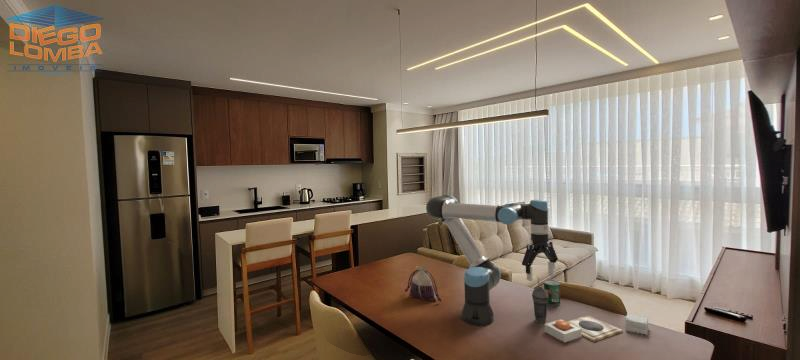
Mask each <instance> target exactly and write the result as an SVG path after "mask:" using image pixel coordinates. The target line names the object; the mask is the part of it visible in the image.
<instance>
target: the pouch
mask: <svg viewBox="0 0 800 360" xmlns="http://www.w3.org/2000/svg"><path fill="white" fill-rule="evenodd" d="M415 267H416V269H415V270H414V271H413V272H412V273H410V276H409V278H408V281H407V282H408V283H407V287H406V288H405V289H404V293H406V292H408V291H409V294H408V295H409V297H411V296H412V297H413V298H417V299H422V300H425V301H426V300H427V301H431V302H437V301H439V303H440V302H442V298H441V297H440V296H439V292H438V288H437V287H438V286H437V282H436V281H435V279H434V276H433V275H432V274H431V273H430V272H429V271H428V270H427V269H426V267H422V266H421V265H418V266H415ZM409 289H410V290H409ZM412 297H411V298H412Z"/></svg>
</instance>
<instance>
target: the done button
mask: <svg viewBox="0 0 800 360" xmlns="http://www.w3.org/2000/svg"><path fill="white" fill-rule="evenodd" d="M558 320H559V321H557V320H555V321H556V328H558V329H560V330H562V331H567V330H570V323H568V322H567V321H566V320H564V321H561V319H558Z"/></svg>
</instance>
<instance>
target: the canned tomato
mask: <svg viewBox="0 0 800 360" xmlns="http://www.w3.org/2000/svg"><path fill="white" fill-rule="evenodd" d="M543 288H544V289H545V290H546V291H547V293H548V296H549V298H548V302H547V306H560V305H561V282H559V281H558V280H554V279H545V280H544V281H543Z"/></svg>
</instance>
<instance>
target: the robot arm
mask: <svg viewBox="0 0 800 360" xmlns="http://www.w3.org/2000/svg"><path fill="white" fill-rule="evenodd" d="M425 211H426V213H427V214H428V216H429V217H430V218H431V219H435V220H440V222H441V223H442V225H446V227H447V228H448V229H449V232H450V233H451V234H452V237H453V239H454V240H455V242H456V243H457V245H458V247H459V249H460V250H461V251H462V254H463V255H464V257H465V259H466V260H467V262H468V264H469V267H468V268H467V269H466V270H465V271H464V277H463V283H464V304H463V308H462V311H461V320H462V321H463V322H465V323H467V324H469V325H472V326H487V325H490V324H493V322H494V320H495V318H494V312H493V310H492V305H491V303H490V302H491V301H490V298H491V297H490V291H492V289H493V288H495V287H496V286H497V285H498V284H499V282H500V280H501V278H502V277H501V275H502V274H501V270H500V268H499V267H498V266H497V264H495V263H493V262H492V261H491V259H490V258H489V257H487V256H484V254H483V252H482V250H481V249H480V247H479V246H478V244H477V242H476V241H475V239H474V237H473V236H472V234H471V232H470V230H469V229H468V227H467V226H466V224H465V222H464V221H463V220H472V221H482V222H483V221H485V222H494V223H501V224H504V225H511V224H514V223H515V222H517V221H519V220H522V221H523V220H525V221H526V220H527V221H530V232H531V233H530V240H531V242H532V244H526V250H525V253H524V256H523V259H522V261H521V265H522V266H524V267H525V273H526V281H528V282H533V266H532V265H533V263H534V261H535V259H536V257H537V256H538V255H539V254H544V255H545V257H546V258H547V259H548V261H547V268H548V269H547V272H548V274H547V276H551V277H555V266H556V265H555V263H558V262H557V261H559V258H558V255H557V253H556V250H555V248H554V246H553V241H549V208H548V201H547V200H545V199H531V200H530V201H529V203H514V202H513V203H512V202H511V203H506V204H504V205H490V204H475V203H464V202H463V203H461V202H459V201H458V200H457V198H456V197H454V196H452V195H448V194H445V195H444V194H443V195H440V196H434V197H432V198H430V199H429V200H428V201H427V203H426V206H425Z"/></svg>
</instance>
